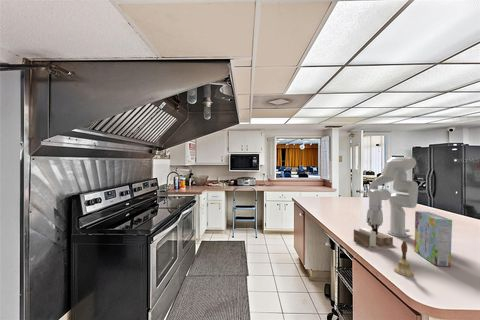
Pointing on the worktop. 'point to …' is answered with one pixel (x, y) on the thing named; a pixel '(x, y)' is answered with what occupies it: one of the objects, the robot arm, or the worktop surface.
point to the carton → (371, 236)
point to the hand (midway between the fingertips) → (374, 233)
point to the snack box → (433, 238)
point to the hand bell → (403, 263)
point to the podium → (380, 239)
